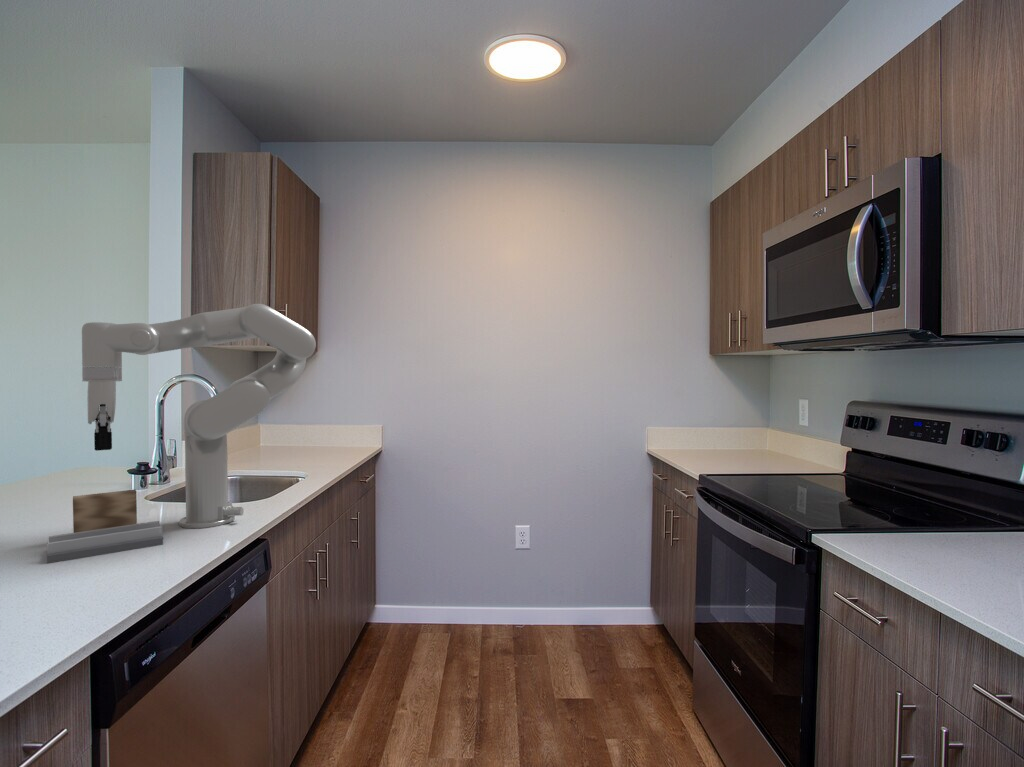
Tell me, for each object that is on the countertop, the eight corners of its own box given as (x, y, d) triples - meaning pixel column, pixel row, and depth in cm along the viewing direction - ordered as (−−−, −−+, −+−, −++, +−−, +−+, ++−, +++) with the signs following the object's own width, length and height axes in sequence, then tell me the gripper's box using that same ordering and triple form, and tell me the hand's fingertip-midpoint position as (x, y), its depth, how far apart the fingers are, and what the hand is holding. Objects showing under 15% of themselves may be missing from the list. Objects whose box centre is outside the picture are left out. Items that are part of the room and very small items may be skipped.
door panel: (136, 529, 136) (135, 489, 135) (137, 532, 133) (136, 491, 133) (73, 538, 128) (73, 496, 128) (73, 542, 126) (72, 498, 126)
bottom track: (158, 533, 132) (158, 519, 132) (163, 544, 124) (162, 528, 124) (49, 550, 120) (49, 534, 120) (47, 563, 112) (46, 546, 112)
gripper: (83, 374, 135) (84, 444, 135) (81, 375, 121) (82, 453, 121) (120, 374, 139) (121, 442, 140) (122, 375, 126) (123, 450, 126)
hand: (103, 447), depth 131 cm, fingers open, 9 cm apart
